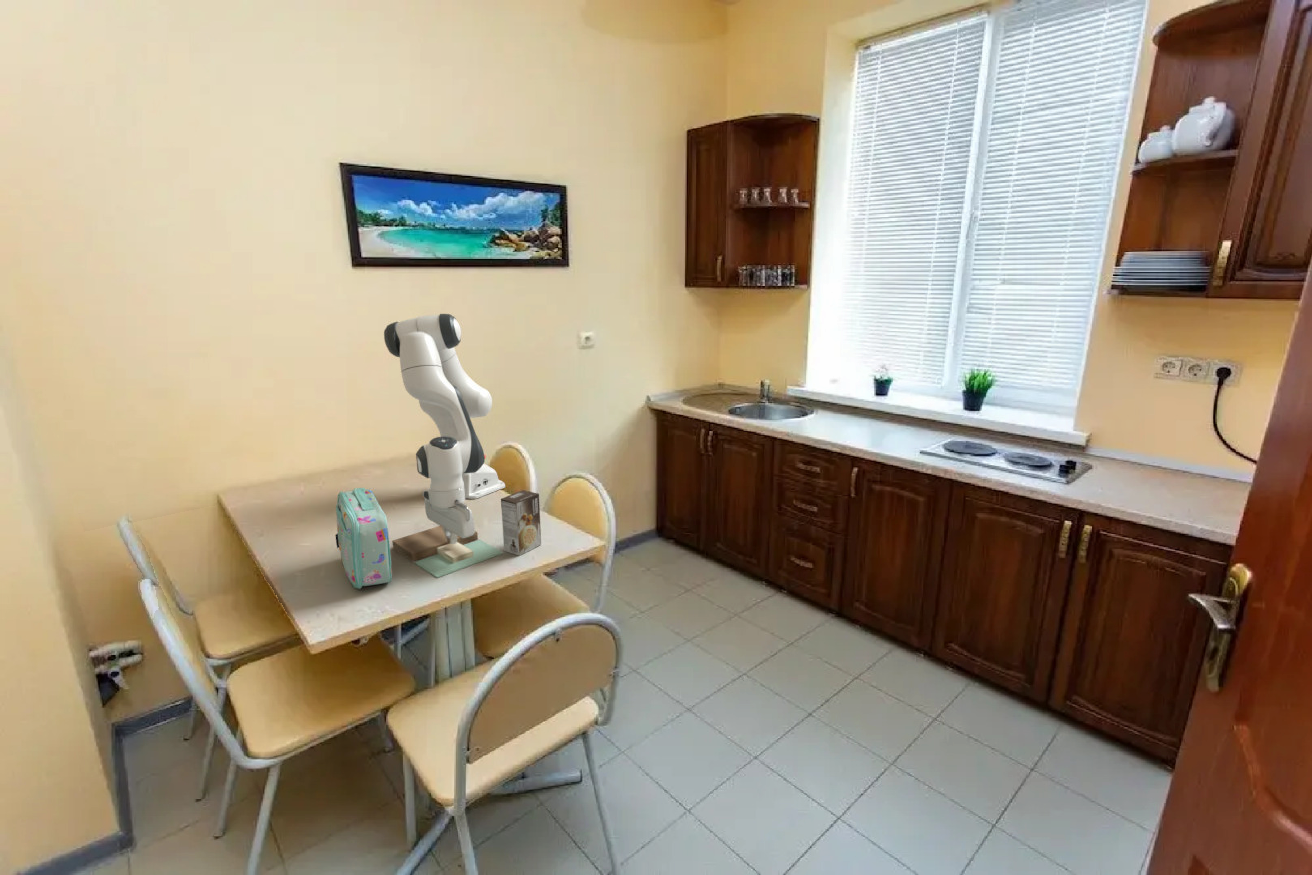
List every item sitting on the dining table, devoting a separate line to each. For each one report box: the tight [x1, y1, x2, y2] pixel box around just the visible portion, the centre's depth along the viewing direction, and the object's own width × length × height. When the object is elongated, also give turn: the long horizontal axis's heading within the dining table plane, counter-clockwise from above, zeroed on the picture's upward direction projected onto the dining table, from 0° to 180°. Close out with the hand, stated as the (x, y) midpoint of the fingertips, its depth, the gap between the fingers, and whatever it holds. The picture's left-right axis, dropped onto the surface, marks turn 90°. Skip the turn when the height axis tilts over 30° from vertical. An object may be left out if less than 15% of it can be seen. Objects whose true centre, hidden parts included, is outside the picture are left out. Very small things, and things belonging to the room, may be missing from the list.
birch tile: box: [437, 542, 473, 563], centre depth 169 cm, size 6×9×2 cm, turn 48°
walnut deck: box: [391, 525, 479, 563], centre depth 175 cm, size 20×12×2 cm, turn 138°
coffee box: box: [500, 489, 542, 557], centre depth 172 cm, size 9×6×16 cm
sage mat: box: [414, 539, 504, 579], centre depth 167 cm, size 20×12×1 cm, turn 138°
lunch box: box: [334, 487, 393, 589], centre depth 157 cm, size 27×10×21 cm, turn 35°
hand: (451, 542), depth 169 cm, fingers closed
